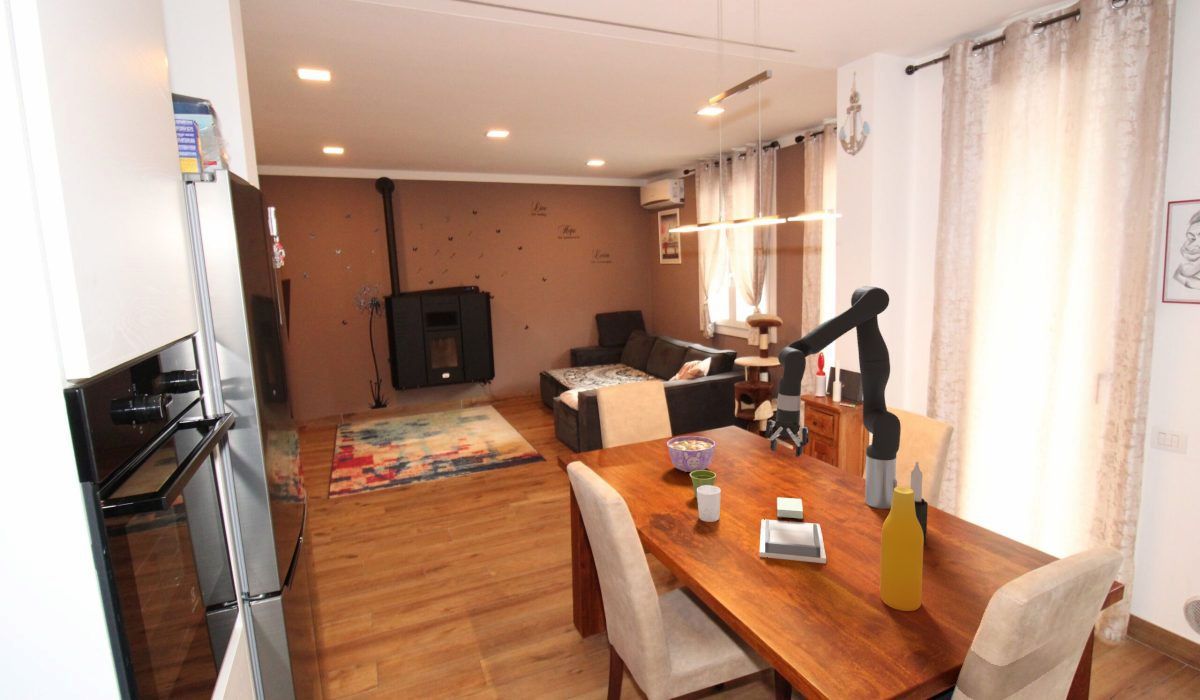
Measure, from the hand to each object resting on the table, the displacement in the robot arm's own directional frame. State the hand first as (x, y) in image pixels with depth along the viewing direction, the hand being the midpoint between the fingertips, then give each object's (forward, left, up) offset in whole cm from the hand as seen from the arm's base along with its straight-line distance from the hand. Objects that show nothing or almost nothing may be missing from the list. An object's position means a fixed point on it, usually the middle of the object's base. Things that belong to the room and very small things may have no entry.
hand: (785, 453), depth 193 cm
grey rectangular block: (-1, +4, -20) cm, 20 cm away
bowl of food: (+37, -32, -20) cm, 53 cm away
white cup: (+25, +12, -20) cm, 34 cm away
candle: (-36, +17, -20) cm, 45 cm away
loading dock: (-1, +22, -20) cm, 30 cm away
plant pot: (+29, -5, -20) cm, 35 cm away
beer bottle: (-26, +50, -20) cm, 60 cm away
